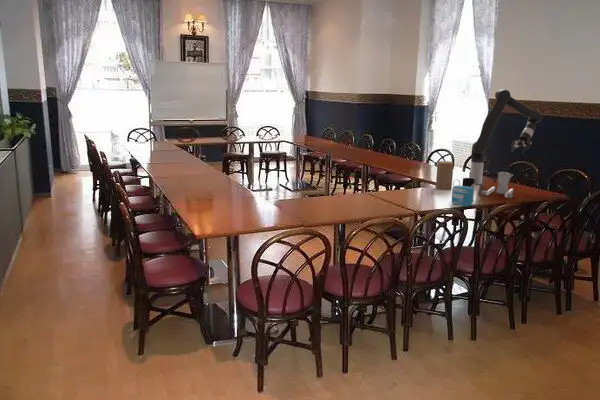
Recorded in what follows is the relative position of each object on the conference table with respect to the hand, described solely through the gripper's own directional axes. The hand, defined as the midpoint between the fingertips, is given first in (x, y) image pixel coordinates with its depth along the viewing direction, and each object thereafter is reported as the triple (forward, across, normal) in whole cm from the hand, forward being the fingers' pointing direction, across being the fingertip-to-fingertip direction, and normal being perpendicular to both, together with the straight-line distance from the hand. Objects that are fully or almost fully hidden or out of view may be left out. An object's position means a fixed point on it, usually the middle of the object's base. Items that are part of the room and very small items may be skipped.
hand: (517, 152), depth 367 cm
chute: (+39, +5, -2) cm, 39 cm away
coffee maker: (+37, +4, 0) cm, 37 cm away
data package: (+75, +13, -41) cm, 86 cm away
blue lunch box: (+67, +5, -32) cm, 74 cm away
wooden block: (+51, -29, -17) cm, 61 cm away
